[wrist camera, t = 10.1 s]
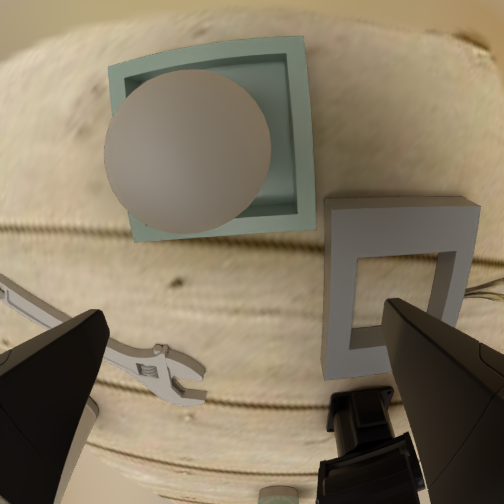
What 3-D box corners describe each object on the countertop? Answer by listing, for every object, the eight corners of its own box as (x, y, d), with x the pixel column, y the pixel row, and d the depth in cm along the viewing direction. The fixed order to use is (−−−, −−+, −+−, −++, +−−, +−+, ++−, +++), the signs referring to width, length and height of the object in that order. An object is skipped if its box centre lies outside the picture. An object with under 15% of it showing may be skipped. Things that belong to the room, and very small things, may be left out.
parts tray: (309, 214, 21) (316, 230, 18) (150, 226, 21) (134, 242, 19) (298, 47, 16) (303, 36, 13) (128, 71, 17) (108, 66, 14)
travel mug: (69, 376, 29) (-4, 514, 11) (108, 412, 31) (55, 549, 13) (47, 386, 31) (-18, 504, 13) (83, 419, 33) (32, 537, 15)
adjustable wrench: (-2, 287, 26) (-11, 295, 24) (0, 239, 23) (-11, 246, 22) (195, 401, 29) (192, 414, 28) (222, 366, 27) (219, 379, 25)
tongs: (446, 278, 23) (457, 290, 21) (535, 258, 22) (546, 266, 20) (438, 318, 24) (448, 331, 23) (526, 292, 24) (536, 301, 22)
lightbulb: (168, 93, 17) (65, 78, 7) (268, 87, 17) (270, 46, 7) (174, 187, 20) (88, 262, 10) (270, 185, 19) (272, 263, 9)
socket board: (432, 344, 25) (443, 362, 23) (320, 359, 26) (324, 380, 23) (462, 196, 19) (480, 206, 17) (324, 198, 20) (331, 209, 18)
